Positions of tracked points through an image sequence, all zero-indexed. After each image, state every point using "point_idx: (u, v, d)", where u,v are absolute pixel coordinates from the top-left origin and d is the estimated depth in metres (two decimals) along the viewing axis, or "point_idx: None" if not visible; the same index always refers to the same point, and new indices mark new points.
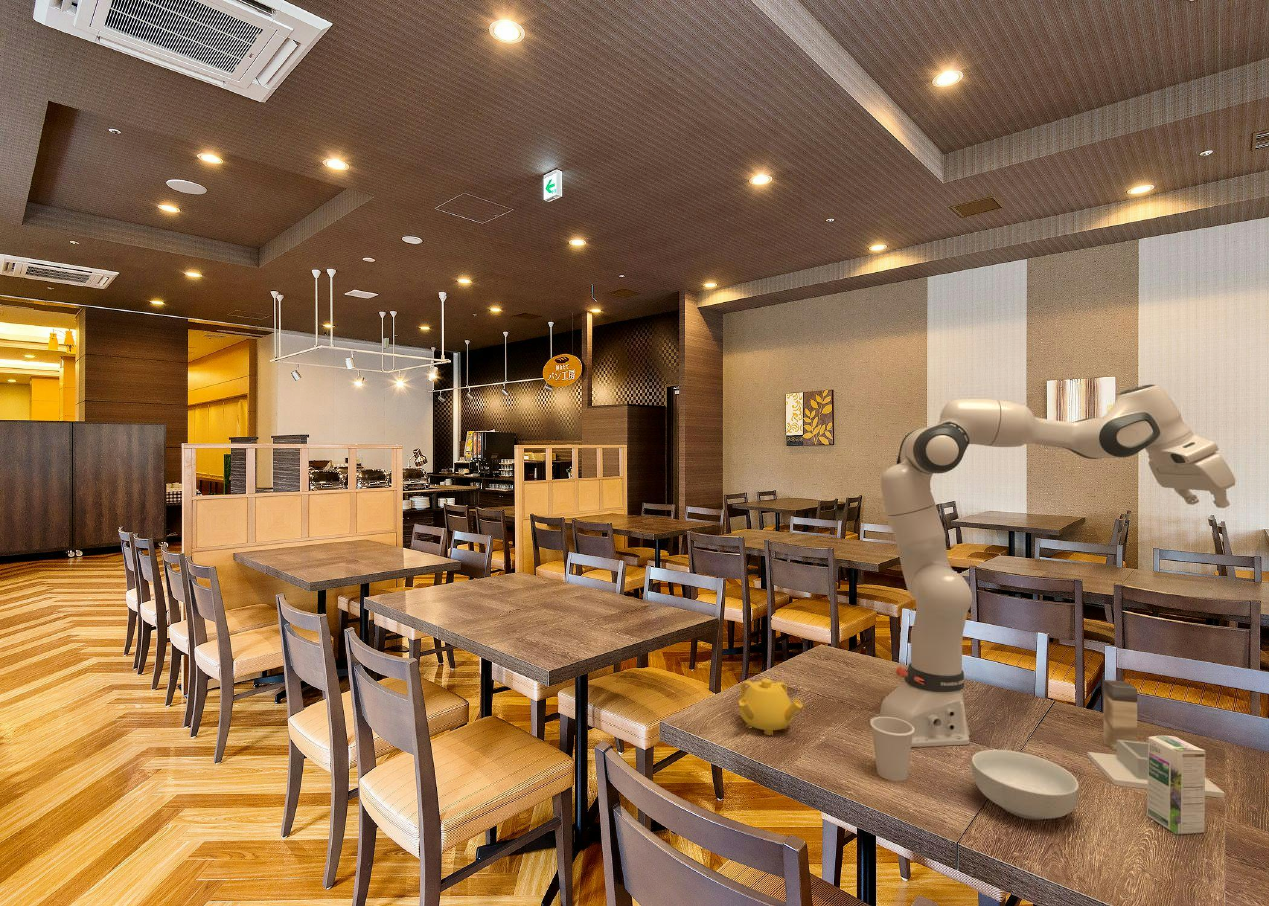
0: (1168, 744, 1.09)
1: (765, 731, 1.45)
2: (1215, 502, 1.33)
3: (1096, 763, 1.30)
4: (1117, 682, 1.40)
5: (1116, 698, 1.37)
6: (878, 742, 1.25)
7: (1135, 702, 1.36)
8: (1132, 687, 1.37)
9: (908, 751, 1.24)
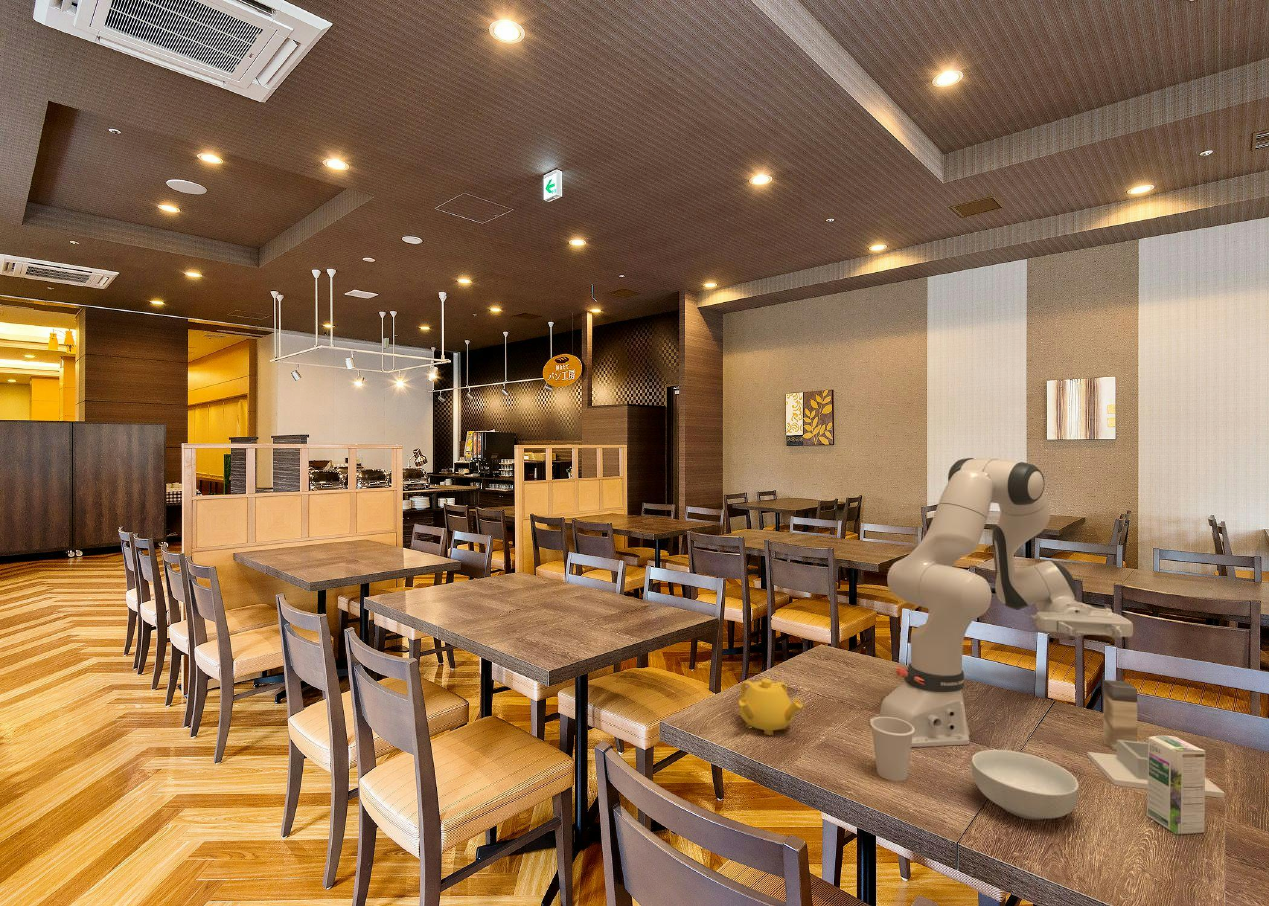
0: (1168, 744, 1.09)
1: (765, 731, 1.45)
2: (1115, 629, 1.51)
3: (1096, 763, 1.30)
4: (1117, 682, 1.40)
5: (1116, 698, 1.37)
6: (878, 742, 1.25)
7: (1135, 702, 1.36)
8: (1132, 687, 1.37)
9: (908, 751, 1.24)
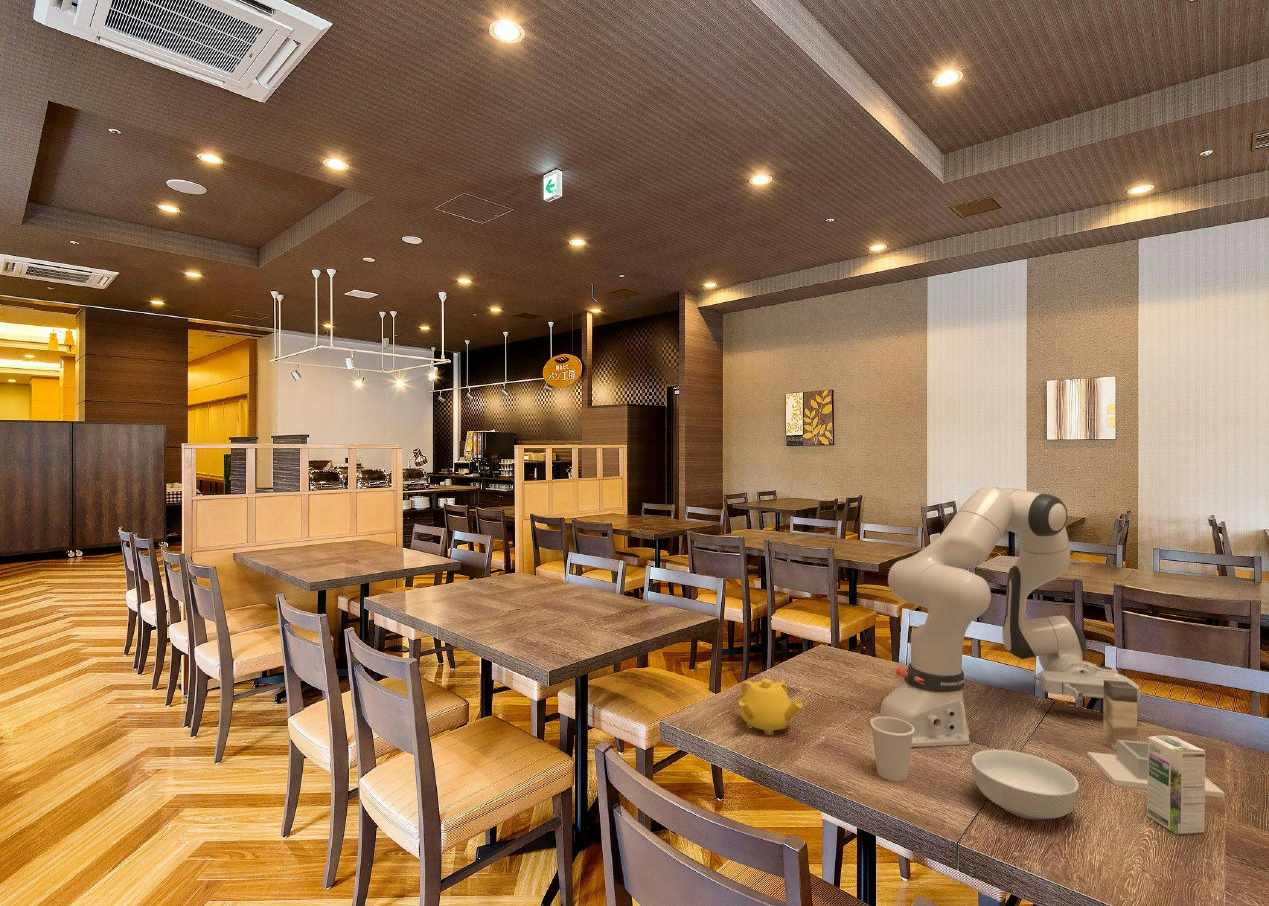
0: (1168, 744, 1.09)
1: (765, 731, 1.45)
2: None
3: (1096, 763, 1.30)
4: (1117, 682, 1.40)
5: (1116, 698, 1.37)
6: (878, 742, 1.25)
7: (1135, 702, 1.36)
8: (1132, 687, 1.37)
9: (908, 751, 1.24)
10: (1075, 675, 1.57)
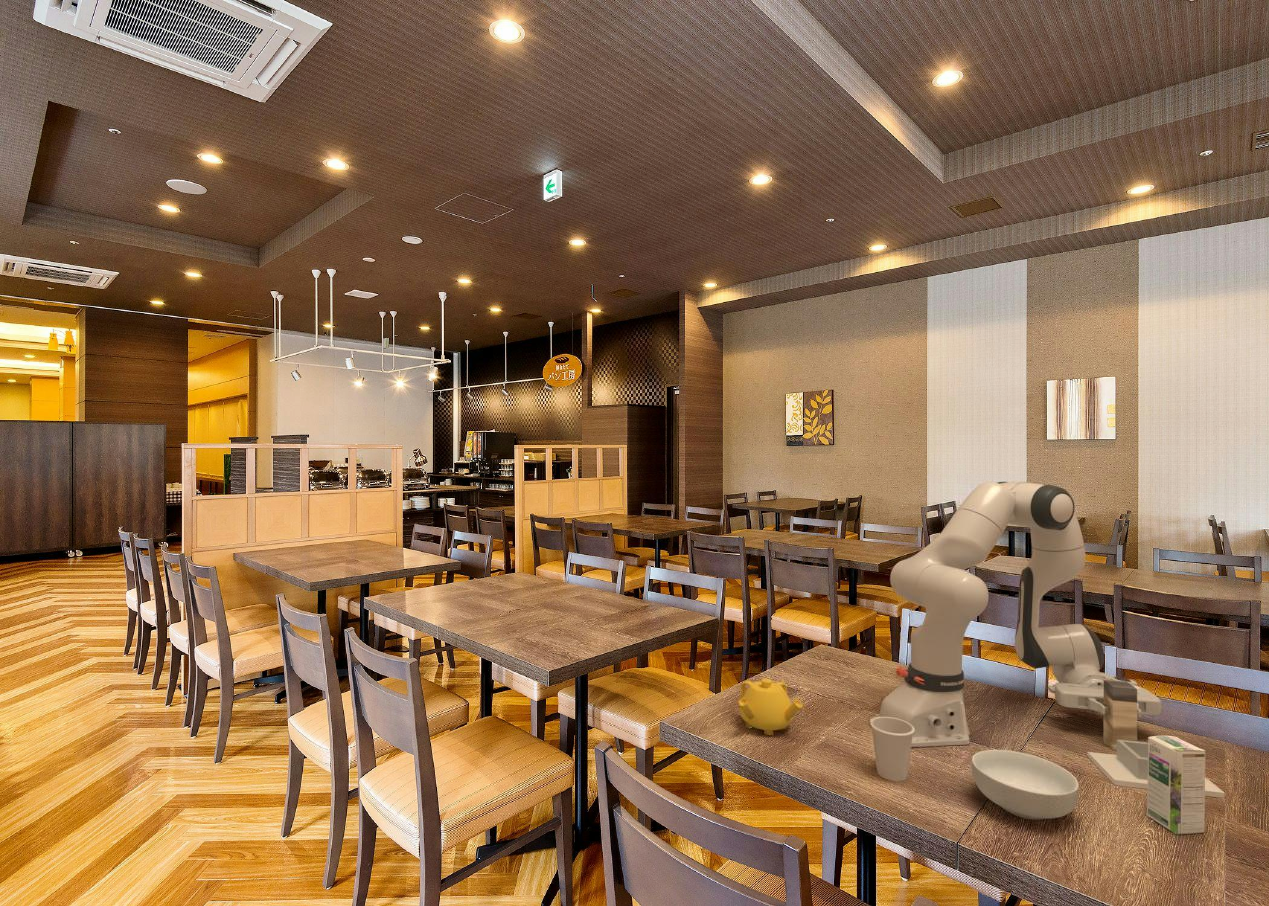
0: (1168, 744, 1.09)
1: (765, 731, 1.45)
2: None
3: (1096, 763, 1.30)
4: (1117, 682, 1.40)
5: (1116, 698, 1.37)
6: (878, 742, 1.25)
7: (1135, 702, 1.36)
8: (1132, 687, 1.37)
9: (908, 751, 1.24)
10: (1092, 688, 1.48)
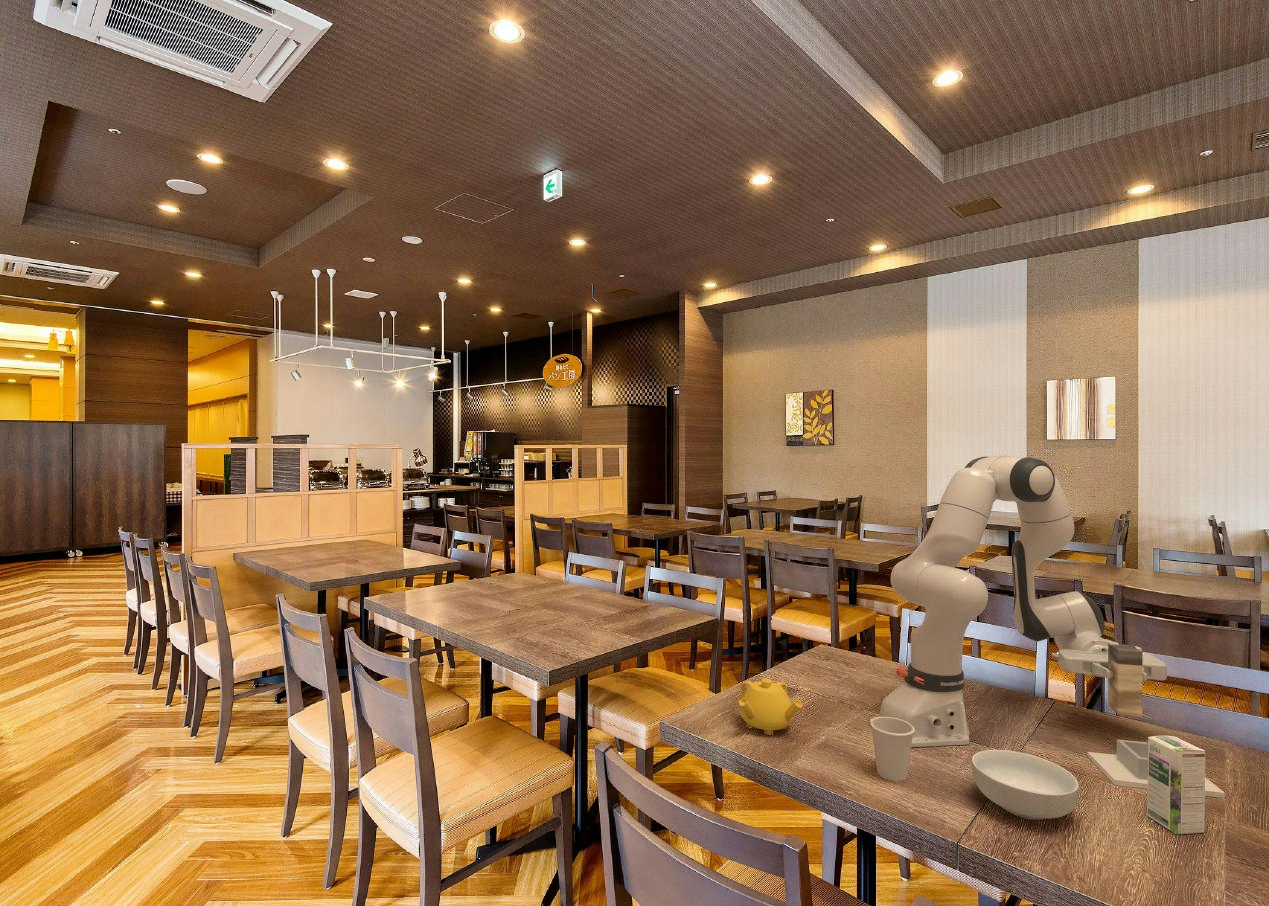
0: (1168, 744, 1.09)
1: (765, 731, 1.45)
2: None
3: (1096, 763, 1.30)
4: (1122, 646, 1.38)
5: (1121, 661, 1.35)
6: (878, 742, 1.25)
7: (1140, 665, 1.34)
8: (1137, 650, 1.35)
9: (908, 751, 1.24)
10: (1096, 653, 1.46)
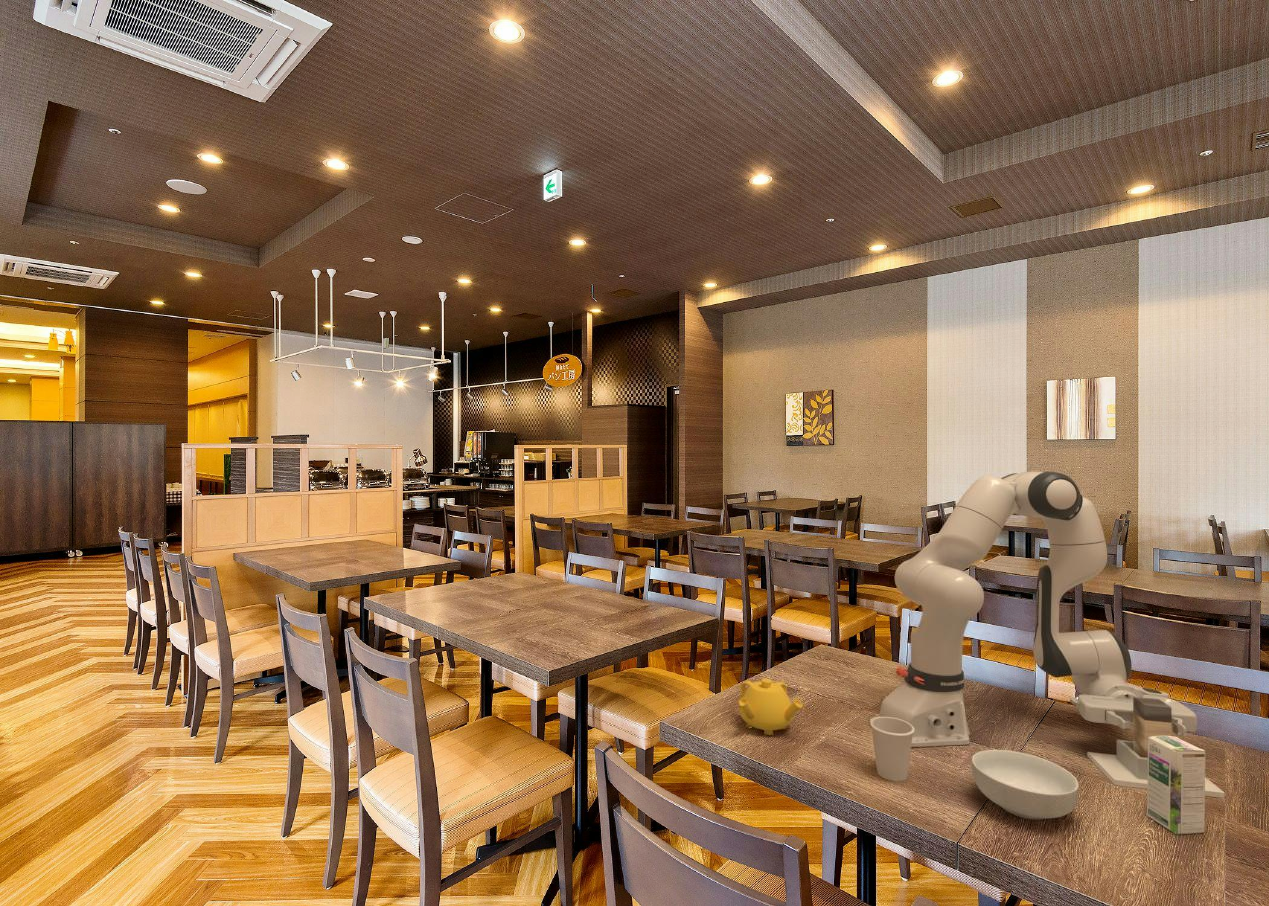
0: (1168, 744, 1.09)
1: (765, 731, 1.45)
2: (1177, 723, 1.26)
3: (1096, 763, 1.30)
4: (1148, 699, 1.28)
5: (1148, 718, 1.25)
6: (878, 742, 1.25)
7: (1169, 722, 1.24)
8: (1166, 705, 1.25)
9: (908, 751, 1.24)
10: (1119, 700, 1.36)
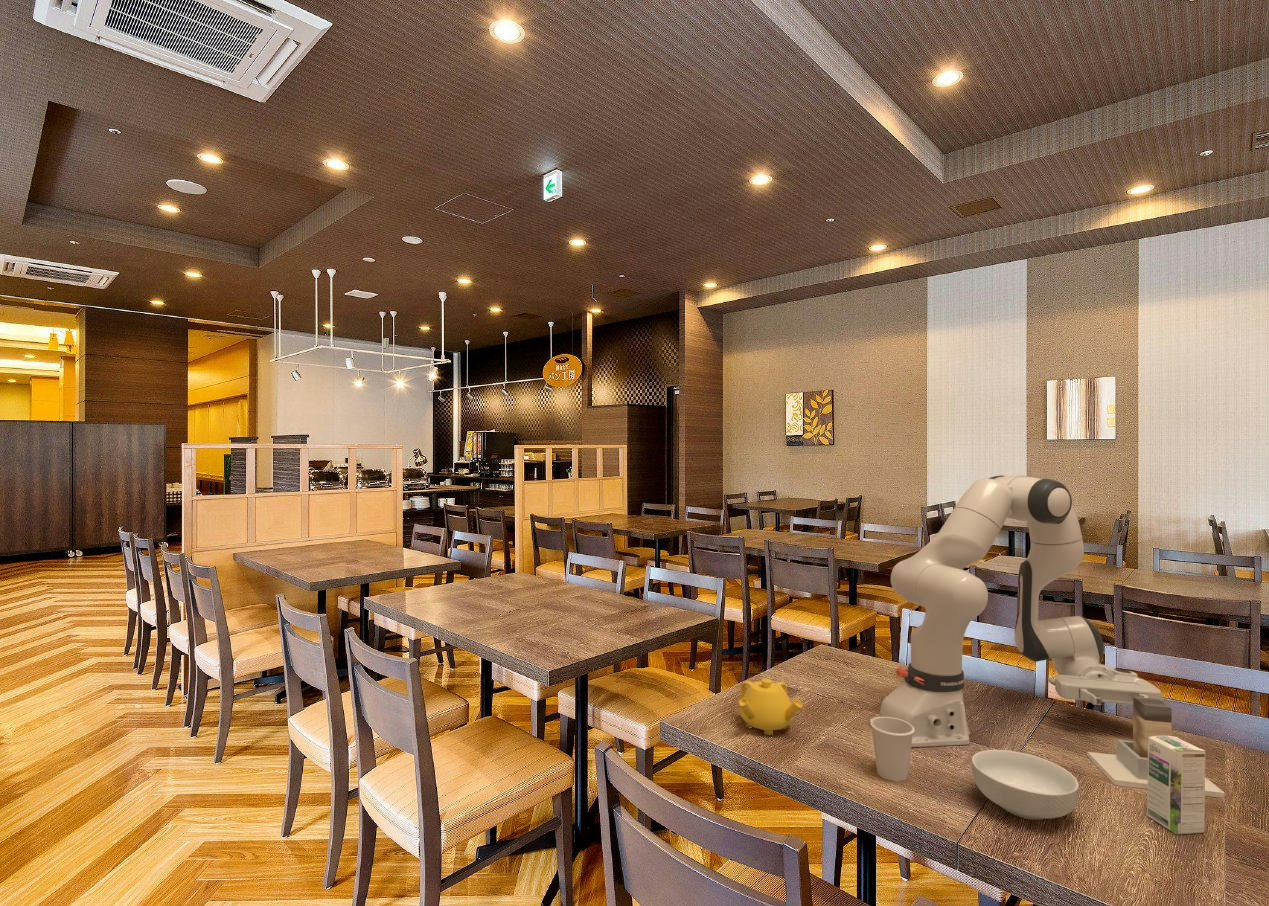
0: (1168, 744, 1.09)
1: (765, 731, 1.45)
2: None
3: (1096, 763, 1.30)
4: (1148, 699, 1.28)
5: (1148, 718, 1.25)
6: (878, 742, 1.25)
7: (1169, 722, 1.24)
8: (1166, 705, 1.25)
9: (908, 751, 1.24)
10: (1092, 679, 1.48)
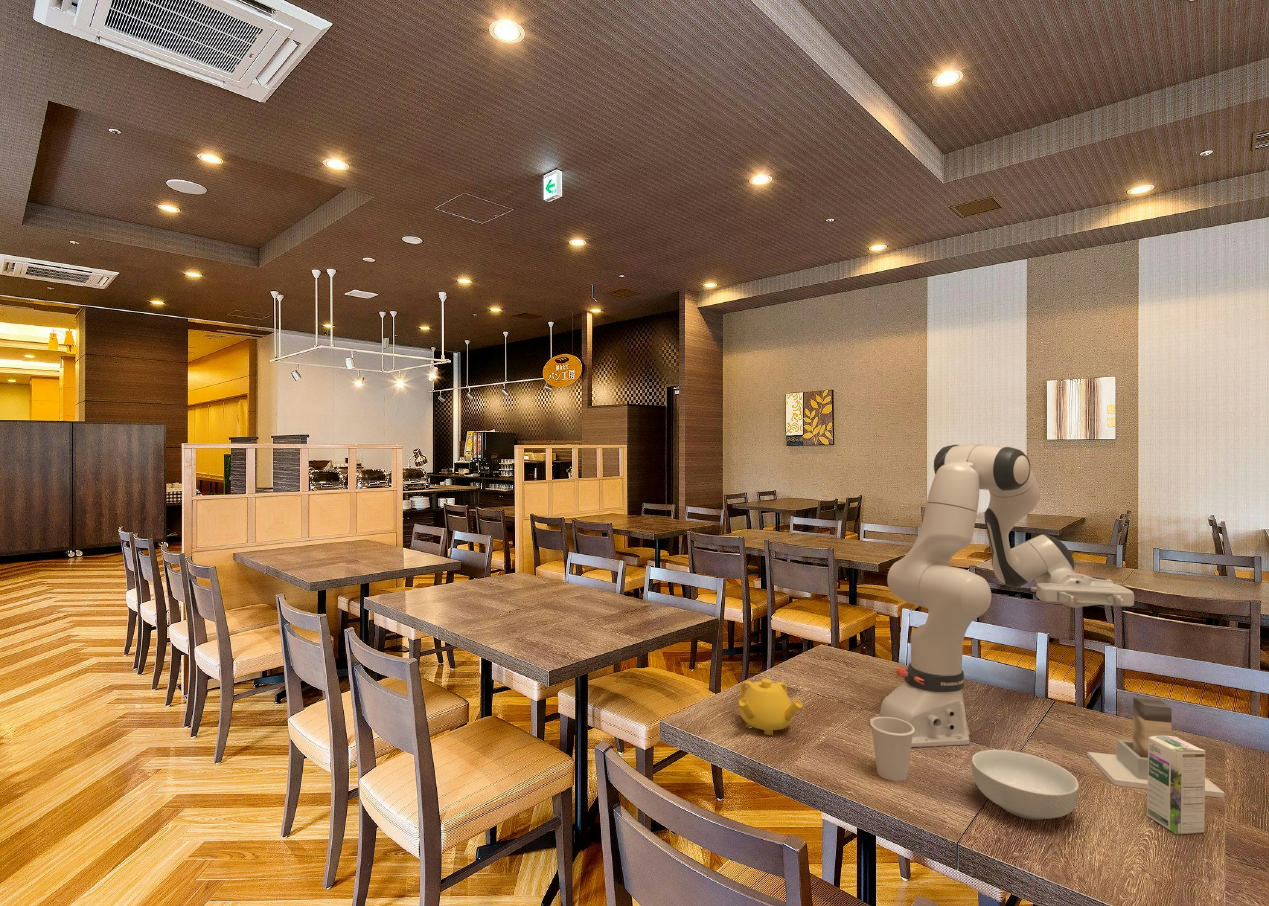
0: (1168, 744, 1.09)
1: (765, 731, 1.45)
2: (1116, 597, 1.50)
3: (1096, 763, 1.30)
4: (1148, 699, 1.28)
5: (1148, 718, 1.25)
6: (878, 742, 1.25)
7: (1169, 722, 1.24)
8: (1166, 705, 1.25)
9: (908, 751, 1.24)
10: (1070, 585, 1.60)
